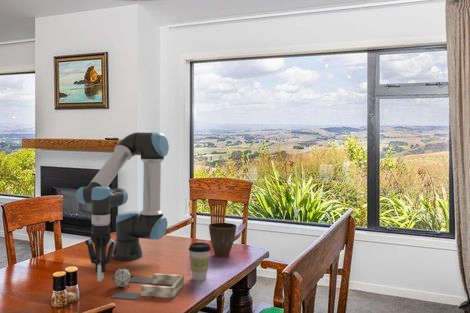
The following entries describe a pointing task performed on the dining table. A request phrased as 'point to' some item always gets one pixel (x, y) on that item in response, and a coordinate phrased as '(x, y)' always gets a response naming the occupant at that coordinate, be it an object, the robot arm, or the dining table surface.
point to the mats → (132, 295)
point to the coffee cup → (199, 260)
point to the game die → (122, 277)
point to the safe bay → (163, 290)
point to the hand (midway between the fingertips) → (100, 279)
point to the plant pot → (222, 237)
